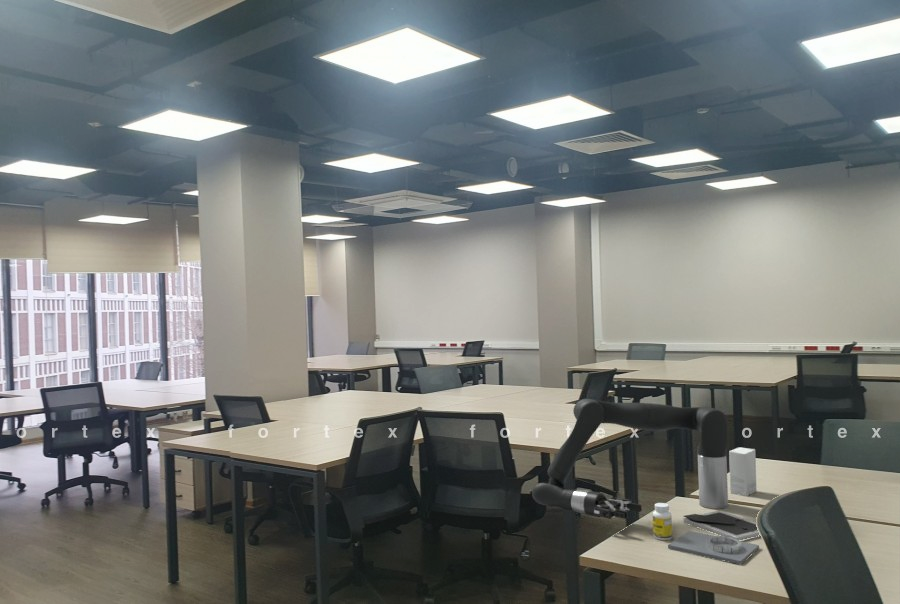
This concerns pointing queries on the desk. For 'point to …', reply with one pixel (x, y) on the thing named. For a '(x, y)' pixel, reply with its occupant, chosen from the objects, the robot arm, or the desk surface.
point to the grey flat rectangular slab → (697, 545)
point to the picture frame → (724, 524)
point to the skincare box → (742, 471)
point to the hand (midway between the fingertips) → (634, 511)
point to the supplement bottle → (662, 522)
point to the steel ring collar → (724, 549)
